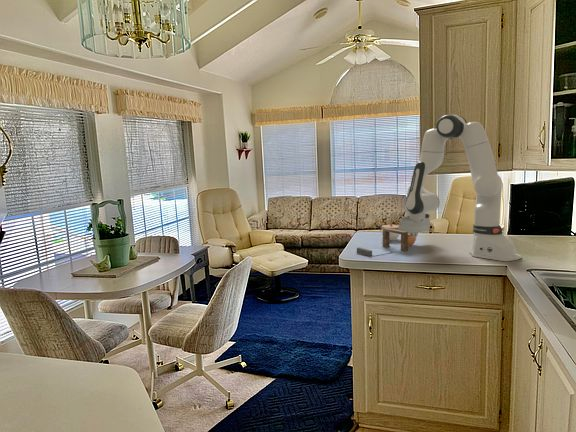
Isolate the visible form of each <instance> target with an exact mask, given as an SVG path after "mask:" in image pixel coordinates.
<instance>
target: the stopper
mask: <svg viewBox="0 0 576 432" xmlns="http://www.w3.org/2000/svg"><path fill="white" fill-rule="evenodd" d="M356 253H357V254H359V255H364V256H366V257H367V256H368V257H371V256H372V250H368V249H367V248H364V247H356Z"/></svg>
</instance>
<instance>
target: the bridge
mask: <svg viewBox="0 0 576 432" xmlns="http://www.w3.org/2000/svg"><path fill="white" fill-rule="evenodd" d="M390 232H392V233H397V234H400V251H401V252H408V251H409V246H408V235H409V234H408V232H406V231H401V230H396V229H390V228H383V235H382V247H384V248H386V247H387V248H389V247H390V243H391V241H390Z"/></svg>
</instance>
